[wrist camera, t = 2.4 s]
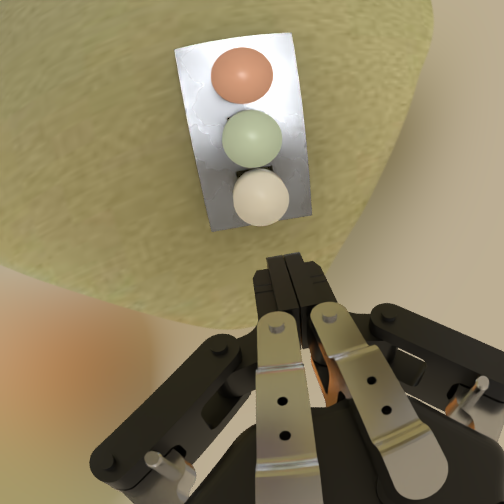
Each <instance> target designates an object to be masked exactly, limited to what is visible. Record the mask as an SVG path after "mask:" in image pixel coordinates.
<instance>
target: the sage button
mask: <svg viewBox="0 0 504 504" xmlns="http://www.w3.org/2000/svg"><path fill="white" fill-rule="evenodd" d="M222 144H223V148H224V151H225V153H226V154H227V156H228V157H229V158H230V159H231V160H232V161H233V162H234V163H236V164H238V165H240V166H243V167H247V168H257V167H261V166H264V165H266V164H268V163H269V162H271V161H272V160H273V159H274V158H275V157H276V156H277V154H278V153H279V151H280V148H281V145H282V133H281V129H280V127H279V125H278V123H277V122H276V121H275V120H274V119H273V118H272V117H271V116H269V115H268V114H266V113H264V112H261V111H258V110H251V109H250V110H243V111H240V112H238V113H236V114H234V115H233V116H232V117H231V118H230V119H229V120H228V121H227V123H226V124H225V127H224V130H223V135H222Z"/></svg>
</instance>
